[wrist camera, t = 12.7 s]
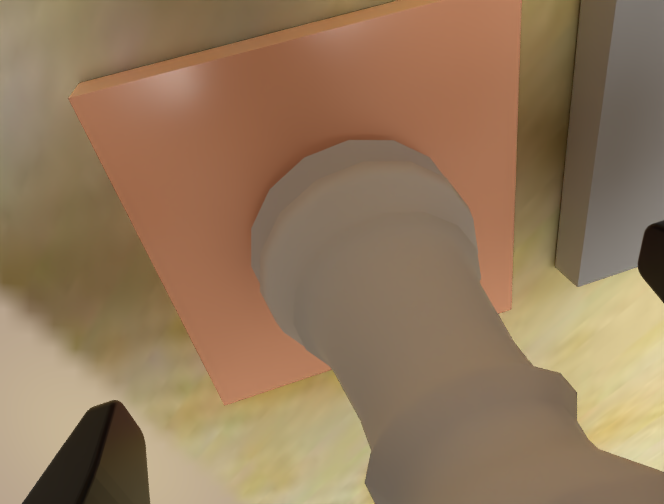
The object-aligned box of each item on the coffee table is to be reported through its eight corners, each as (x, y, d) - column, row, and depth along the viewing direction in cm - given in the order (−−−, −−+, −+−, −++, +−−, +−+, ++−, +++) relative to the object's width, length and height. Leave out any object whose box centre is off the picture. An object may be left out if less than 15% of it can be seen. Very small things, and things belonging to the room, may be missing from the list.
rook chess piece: (478, 152, 10) (992, 525, 4) (405, 318, 12) (653, 746, 6) (273, 106, 9) (535, 611, 2) (228, 305, 11) (292, 871, 4)
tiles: (789, 189, 15) (823, 204, 14) (222, 376, 13) (224, 405, 12) (921, -136, 10) (983, -142, 10) (78, 82, 9) (67, 98, 8)
